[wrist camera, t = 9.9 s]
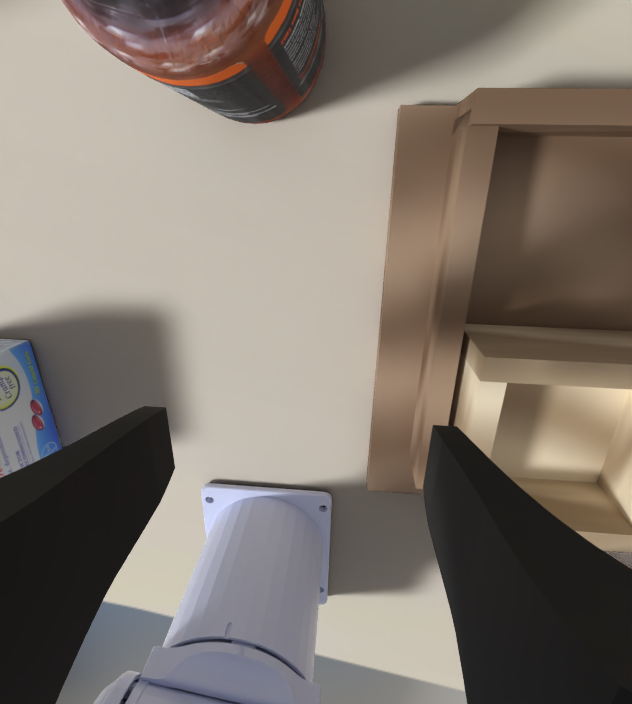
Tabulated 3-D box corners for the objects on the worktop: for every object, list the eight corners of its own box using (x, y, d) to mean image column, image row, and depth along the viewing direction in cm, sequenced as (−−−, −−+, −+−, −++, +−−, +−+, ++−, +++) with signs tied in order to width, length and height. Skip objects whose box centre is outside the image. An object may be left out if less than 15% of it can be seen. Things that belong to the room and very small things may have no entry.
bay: (650, 498, 23) (707, 559, 19) (366, 478, 24) (369, 531, 20) (816, 113, 16) (960, 90, 12) (398, 109, 17) (411, 87, 13)
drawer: (588, 535, 23) (692, 688, 16) (425, 522, 23) (457, 664, 16) (663, 332, 18) (857, 423, 11) (458, 323, 19) (521, 404, 12)
